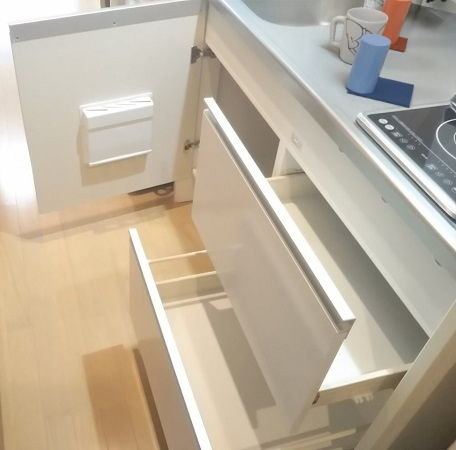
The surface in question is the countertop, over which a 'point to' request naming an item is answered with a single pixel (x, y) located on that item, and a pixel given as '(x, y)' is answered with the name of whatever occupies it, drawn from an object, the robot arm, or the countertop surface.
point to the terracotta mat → (399, 44)
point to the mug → (356, 29)
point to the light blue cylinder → (368, 63)
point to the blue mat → (390, 92)
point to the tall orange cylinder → (395, 17)
